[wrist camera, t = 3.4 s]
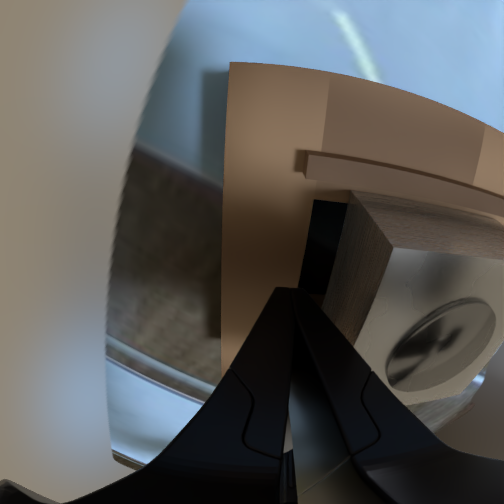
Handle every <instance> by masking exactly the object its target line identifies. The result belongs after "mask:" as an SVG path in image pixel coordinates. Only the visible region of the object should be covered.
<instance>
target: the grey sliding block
mask: <svg viewBox="0 0 504 504" xmlns="http://www.w3.org/2000/svg"><path fill="white" fill-rule="evenodd" d="M321 309H322V310H323V311H324V312H325V314H326V315H327V316H328V317H329V318H330V320H331V321H332V322H333V323H334V324H335V325H336V327H337V328H338V329H339V330H340V331H341V333H342V334H343V335H344V336H345V337H346V338H347V340H348V341H349V342H350V343H351V344H352V346H353V347H354V348H355V349H356V350H357V352H358V353H359V354H360V355H361V356H362V358H363V359H364V360H365V361H366V362H367V364H368V365H369V366H370V367H371V368H372V370H371V371H374V372H375V373H376V374H377V375H378V377H379V378H380V379H381V380H382V381H383V383H384V384H385V385H386V386H387V387H388V388H389V389H390V391H391V392H392V393H393V394H394V395H395V396H396V397H397V398H398V399H399V400H400V401H401V402H402V403H403V404H404V405H410V404H416V403H422V402H427V401H432V400H437V399H441V398H446V397H450V396H454V395H458V394H460V393H461V392H462V391H463V390H464V389H465V388H466V387H467V386H468V385H469V383H470V382H471V381H472V380H473V379H474V378H475V377H476V375H477V374H478V373H479V372H480V371H481V370H482V368H483V367H484V366H485V365H486V363H487V362H488V361H489V360H490V358H491V357H492V356H493V354H494V353H495V352H496V351H497V349H498V348H499V346H500V345H501V344H502V342H503V341H504V225H502V224H501V223H500V222H499V221H497V220H496V219H493V218H489V217H485V216H481V215H477V214H473V213H469V212H465V211H461V210H456V209H452V208H447V207H443V206H438V205H433V204H428V203H424V202H418V201H413V200H408V199H403V198H397V197H391V196H385V195H379V194H373V193H367V192H360V191H354V190H351V192H350V196H349V201H348V206H347V211H346V215H345V220H344V224H343V228H342V233H341V237H340V241H339V245H338V249H337V253H336V257H335V261H334V265H333V269H332V273H331V276H330V280H329V284H328V287H327V291H326V294H325V298H324V301H323V305H322V308H321Z"/></svg>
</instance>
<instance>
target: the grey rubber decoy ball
mask: <svg viewBox="0 0 504 504" xmlns="http://www.w3.org/2000/svg"><path fill="white" fill-rule="evenodd" d="M291 449H293V444H292V434H291V425H290V415H289V409H288V417H287V426H286V435H285V443H284V452H283V453H285V452H288V451H290V450H291Z"/></svg>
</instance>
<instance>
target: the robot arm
mask: <svg viewBox="0 0 504 504" xmlns="http://www.w3.org/2000/svg"><path fill="white" fill-rule="evenodd" d="M371 370H372V368H371V367H370V366H369V365H368V364H367V362H366V361H365V360H364V359H363V358H362V356H361V355H360V354H359V353H358V352H357V350H356V349H355V348H354V347H353V346H352V344H351V343H350V342H349V341H348V340H347V338H346V337H345V336H344V335H343V334H342V333H341V331H340V330H339V329H338V328H337V327H336V325H335V324H334V323H333V322H332V321H331V320H330V318H329V317H328V316H327V315H326V314H325V312H324V311H323V310H322V309H321V308H320V307H319V305H318V304H317V303H316V302H315V301H314V300H313V298H312V297H311V296H310V295H309V294H308V293H307V291H306V290H305V289H303V288H293V287H291V288H289V287H275V288H274V290H273V292H272V294H271V295H270V297H269V299H268V301H267V303H266V304H265V306H264V308H263V310H262V311H261V313H260V315H259V317H258V318H257V320H256V322H255V324H254V325H253V327H252V329H251V331H250V332H249V334H248V336H247V337H246V339H245V341H244V343H243V344H242V346H241V348H240V349H239V351H238V353H237V355H236V356H235V358H234V360H233V361H232V363H231V365H230V366H229V369H227V371H226V373H225V374H224V376H223V378H222V379H221V381H220V382H219V384H218V385H217V387H216V388H215V390H214V391H213V393H212V394H211V396H210V397H209V398H208V400H207V401H206V402H205V403H204V405H203V406H202V407H201V408H200V410H199V411H198V412H197V413H196V414H195V416H194V417H193V418H192V419H191V420H190V421H189V422H188V423H187V425H186V426H185V427H184V428H183V429H182V430H181V431H180V432H179V434H178V435H177V436H176V437H175V438H174V439H173V440H172V441H171V442H170V443H169V444H168V446H167V447H166V448H165V449H164V450H163V451H162V452H161V453H160V454H159V455H158V456H156V457H155V458H154V459H153V460H152V461H151V462H149V463H148V464H147V465H145V466H144V467H142V468H141V469H139V470H137V471H135V472H134V473H132V474H130V475H128V476H126V477H124V478H122V479H120V480H118V481H116V482H114V483H112V484H110V485H107V486H105V487H103V488H101V489H99V490H96V491H94V492H92V493H90V494H88V495H85V496H83V497H80V498H78V499H75V500H73V501H69V502H66V503H62V504H504V461H503V460H498V459H492V458H487V457H482V456H477V455H473V454H469V453H465V452H461V451H458V450H455V449H453V448H451V447H450V446H448V445H446V444H445V443H444V442H442V441H441V440H440V439H439V438H438V437H437V436H436V435H435V434H434V433H432V432H431V431H430V430H429V429H428V428H427V427H426V426H425V425H424V424H423V423H422V422H421V421H420V420H419V419H418V418H417V417H416V416H415V415H414V414H413V413H412V412H411V411H410V410H409V409H408V408H407V407H406V406H405V405H404V404H403V403H402V402H401V401H400V400H399V399H398V398H397V397H396V396H395V395H394V394H393V393H392V392H391V391H390V389H389V388H388V387H387V386H386V385H385V384H384V383H383V381H382V380H381V379H380V378H379V377H378V375H377V374H376V373H375V372H374V371H371ZM288 407H289V415H290V425H291V434H292V444H293V449H291V450H290V451H288V452H285V453H283V452H284V443H285V435H286V426H287V417H288ZM0 504H60V503H58V502H55V501H53V500H50V499H48V498H46V497H43V496H41V495H39V494H37V493H35V492H33V491H31V490H29V489H27V488H25V487H23V486H21V485H19V484H17V483H15V482H12V481H10V480H7V479H3V480H1V481H0Z"/></svg>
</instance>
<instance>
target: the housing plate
mask: <svg viewBox="0 0 504 504" xmlns="http://www.w3.org/2000/svg"><path fill="white" fill-rule="evenodd" d="M351 190H354V191H360V192H367V193H373V194H379V195H385V196H391V197H397V198H403V199H408V200H413V201H418V202H424V203H428V204H433V205H438V206H443V207H447V208H452V209H456V210H461V211H465V212H469V213H473V214H477V215H481V216H485V217H489V218H493V219H496V220H497V221H499V222H500V223H501V224H502V225H504V133H502V132H501V131H499V130H497V129H495V128H493V127H491V126H489V125H487V124H485V123H483V122H481V121H479V120H477V119H475V118H473V117H471V116H469V115H467V114H464V113H462V112H460V111H458V110H455V109H453V108H451V107H448V106H446V105H443V104H441V103H438V102H436V101H433V100H430V99H428V98H425V97H422V96H419V95H416V94H413V93H410V92H407V91H404V90H401V89H398V88H394V87H391V86H387V85H384V84H380V83H377V82H373V81H369V80H365V79H361V78H356V77H352V76H347V75H342V74H337V73H332V72H327V71H321V70H315V69H308V68H301V67H294V66H285V65H275V64H263V63H247V62H230V67H229V82H228V97H227V114H226V133H225V154H224V179H223V210H222V255H221V369H222V378H223V376H224V374H225V373H226V371H227V369H229V366H230V365H231V363H232V361H233V360H234V358H235V356H236V355H237V353H238V351H239V349H240V348H241V346H242V344H243V343H244V341H245V339H246V337H247V336H248V334H249V332H250V331H251V329H252V327H253V325H254V324H255V322H256V320H257V318H258V317H259V315H260V313H261V311H262V310H263V308H264V306H265V304H266V303H267V301H268V299H269V297H270V295H271V294H272V292H273V290H274V288H275V287H289V288H291V287H293V288H297V287H298V282H299V277H300V272H301V267H302V262H303V257H304V252H305V247H306V241H307V236H308V230H309V224H310V219H311V213H312V207H313V201H314V199H317V200H326V201H334V202H342V203H348V201H349V196H350V192H351ZM309 295H310V296H311V297H312V298H313V300H314V301H315V302H316V303H317V304H318V305H319V307H320V308H322V305H323V301H324V298H325V295H320V294H309Z"/></svg>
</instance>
